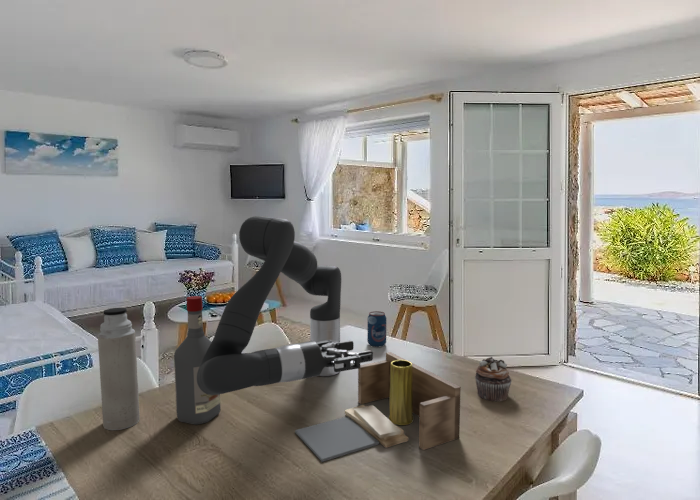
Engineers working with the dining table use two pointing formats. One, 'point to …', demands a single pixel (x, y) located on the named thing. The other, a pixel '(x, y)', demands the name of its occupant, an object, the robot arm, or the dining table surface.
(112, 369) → the thermos bottle
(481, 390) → the cupcake
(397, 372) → the vase
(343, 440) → the mat
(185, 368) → the liquor
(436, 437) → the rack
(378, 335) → the soda can
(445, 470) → the dining table surface
